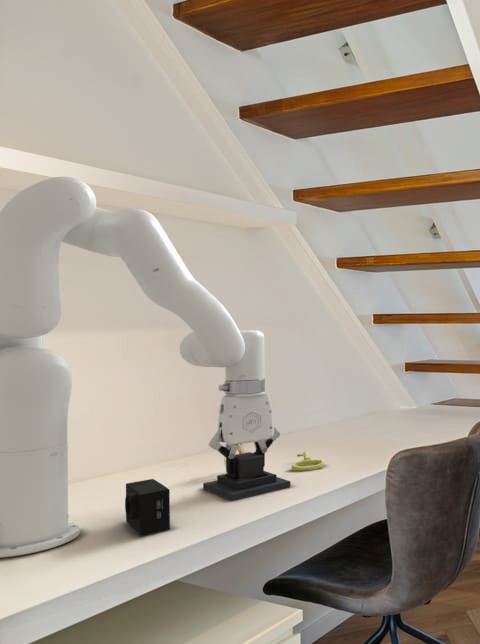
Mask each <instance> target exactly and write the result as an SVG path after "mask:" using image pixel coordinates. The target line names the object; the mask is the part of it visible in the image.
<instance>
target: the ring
mask: <svg viewBox="0 0 480 644" xmlns="http://www.w3.org/2000/svg"><path fill="white" fill-rule="evenodd" d="M236 451H238V454H242V453H246V447H245V443H243V444H238V446H237V450H236ZM223 459H224V460H223V463H224V468H226V457H224V456H223Z"/></svg>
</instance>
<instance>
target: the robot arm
mask: <svg viewBox="0 0 480 644" xmlns="http://www.w3.org/2000/svg"><path fill="white" fill-rule="evenodd" d="M62 243H64V244H67V245H70V246H74V247H76V248H79V249H82V250H86V251H89V252H92V253H95V254H99V255H104V256H108V257H113V258H120V259H121V260H122V262H123V263H124V265H125V266H126V268H127V269H128V270H129V272H130V273H131V275H132V277H133V279H134V280H135V281H136V283H137V284H138V287H140V289H141V290H142V292H143V294H144V295H145V296H146V297H147V298H148V299H149V300H150V301H152V302H153V303H154V304H156V305H158V306H159V307H162V308H163V309H165V310H167V311H169V312H171V313H173V315H176V316H177V317H178V318H179V319H181V320H182V321H183V322H184V323H185V324H187V326H188V327H189V328H190V329H191V330H192V332H190V333H188V334H187V335H185V336H184V337H183V338H182V340H181V341H180V344H179V354H180V356H181V358H182V359H183V361H185V362H186V363H187V364H190V365H192V366H196V367H203V368H225V380H224V383H222V384H219V385H218V391H219V392H224V394H225V395H222V396H221V400H220V404H219V405H220V406H219V411H218V419H217V420H218V421H217V431H216V432H215V434H214V435H213V437H212V438H211V439H210V441H209V442H208V447H210V448H211V449H213V450H215V451H217V452H218V453H219V454H221V455H222V456H223V458H224V457H226V467H225V472H226V474H228V476H230V477H233V478H236V477H237V476H238V459H237V458H235V455H236V454H237V451H238V450H237V446H238V444H239V445H240V444H243V443H244V444H247V443H248V444H249V443H253V445H254V448H255V451H254V452H253V453H254V454H258V455H262V456H264V467H265V465H266V453H267V452H268V449H269V448H270V447H271V446H272V445H273V443H274V442H275V441H276V440H277V439H278V438H279V437H280V436H281V433H280V432H279V430H278V429H277V428H276V427H275V424H274V412H273V405H272V401H271V400H272V399H271V396H270V393H269V392H266V339H265V334H264V333H263V332H262V330H256V329H239V327H238V325H237V324H236V322H235V321H234V319H233V317H232V315H231V314H230V312H229V311H228V310H227V308H226V307H225V306H224V305H223V304H222V303H221V302H220V300H218V299H217V298H216V297H215V296H214V295H213V294H212V293H211V292H210V291H209V290H207V288H206V287H204V285H202V284H201V283H200V282H199V281H198V280H196V279H195V278H194V276H193V275H192V274H191V272H190V271H189V269H188V267H187V266H186V264H185V262H184V261H183V259H182V258H181V256H180V255H179V253H178V251H177V249H176V247H175V246H174V244H173V243H172V241H171V239H170V237H169V236H168V235H167V233H166V231H165V230H164V227H162V225H161V224H160V222H159V220H158V219H157V218H156V217H155V216H154V215H153V213H151V212H149V211H147V210H145V209H141V208H135V207H133V208H123V209H119V210H115V211H111V210H107V209H104V208H101V207H98V206H97V198H96V195H95V192H94V190H93V189H92V188H91V186H89V185H88V184H87V183H85V182H84V181H83V180H81V179H78V178H75V177H71V176H55V177H54V176H53V177H50V178H47V179H43V180H40V181H38V182H35V183H33V184H31V185H29V186H27V187H25V188H24V189H22V190H20V191H19V192H17V194H15V195H14V196H13V197H12V198H10V200H8V202H7V203H6V204H5V205H4V206H3V208H2V209H1V210H0V558H8V557H9V558H10V557H18V556H25V555H30V554H34V553H38V552H43V551H46V550H49V549H53V548H56V547H59V546H61V545H65V544H67V543H69V542H71V541H73V540H74V539H76V538H77V537H78V536H79V535H80V534H81V527H80V525H79V524H77V523H73V522H69V466H68V465H69V456H68V454H69V451H68V447H69V445H68V444H69V442H68V420H69V419H68V418H69V417H68V416H69V409H70V401H71V393H72V389H73V388H72V387H73V376H72V371H71V368H70V366H69V364H68V363H67V361H66V359H64V357H62V356H61V355H60V354H58V353H56V352H55V351H53V350H50V349H47V348H44V346H43V345H44V344H43V336H45V335H47V334H49V333H50V332H52V331H53V330H54V329H55V328H57V326H58V325H59V323H60V320H61V315H62V306H61V293H60V278H59V254H60V247H61V244H62ZM221 443H225V446H224V445H222V444H221Z"/></svg>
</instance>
